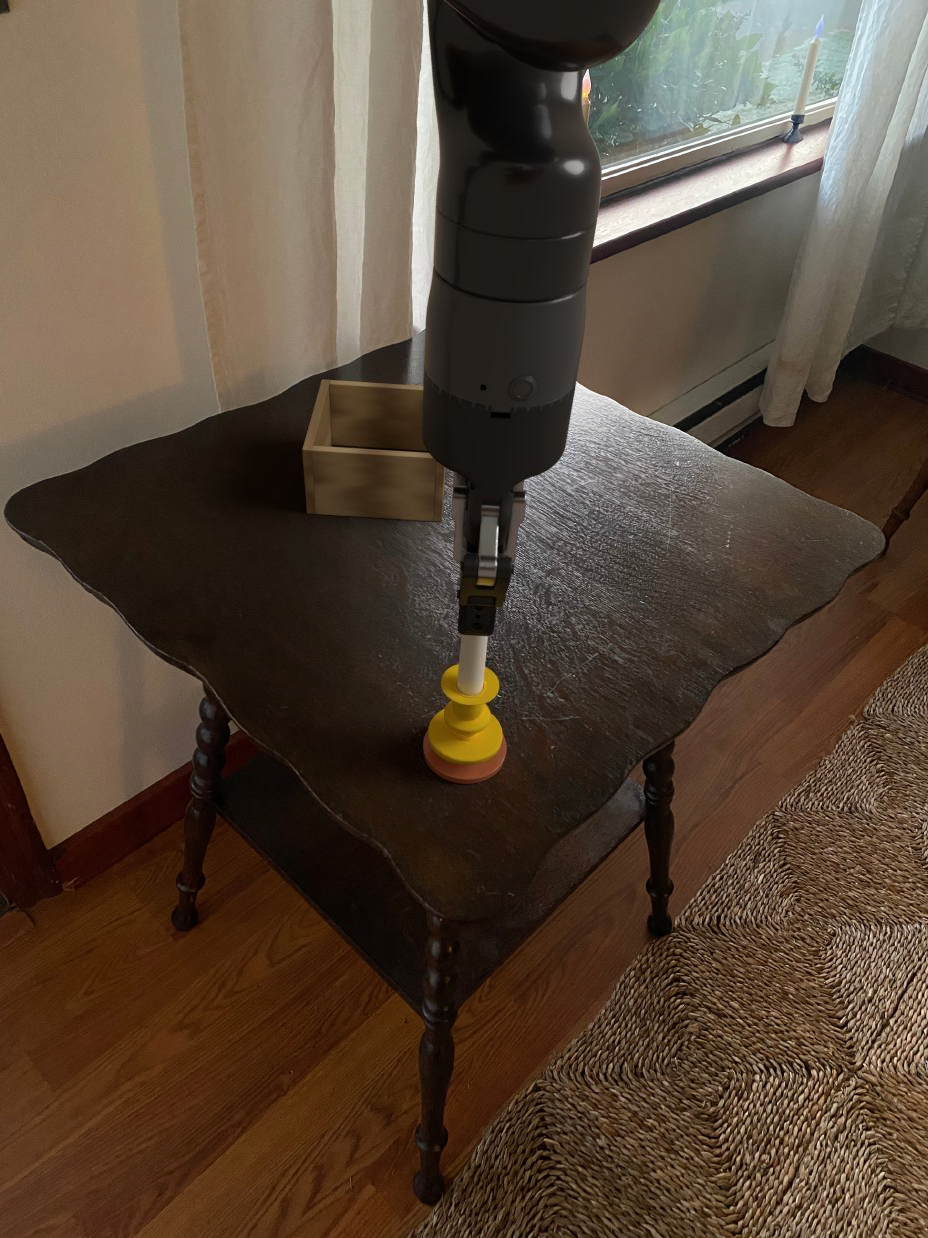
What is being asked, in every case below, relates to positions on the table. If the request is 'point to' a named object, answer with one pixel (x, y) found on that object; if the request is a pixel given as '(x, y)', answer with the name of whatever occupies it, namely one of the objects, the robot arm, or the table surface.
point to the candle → (467, 708)
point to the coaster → (464, 772)
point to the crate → (370, 454)
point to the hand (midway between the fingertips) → (475, 618)
